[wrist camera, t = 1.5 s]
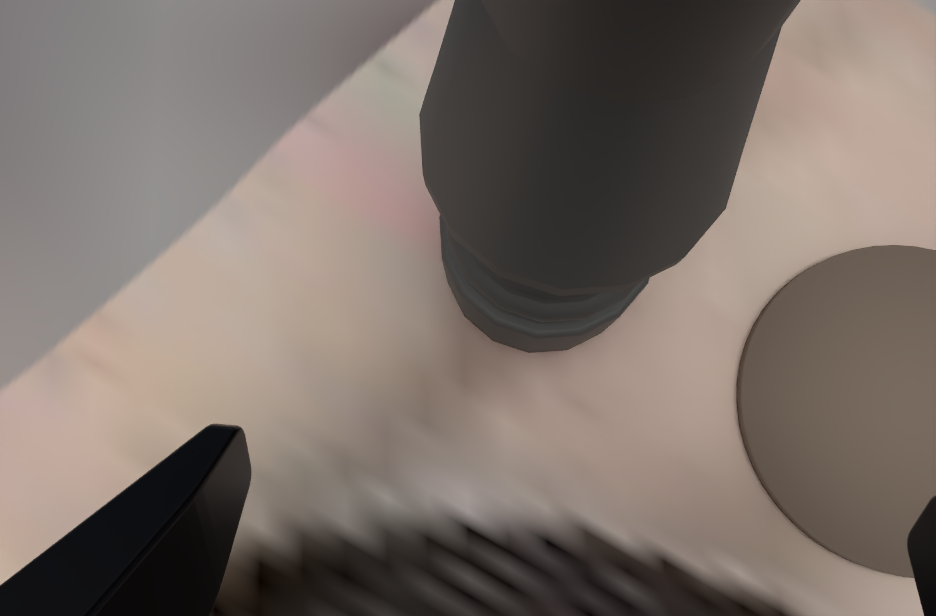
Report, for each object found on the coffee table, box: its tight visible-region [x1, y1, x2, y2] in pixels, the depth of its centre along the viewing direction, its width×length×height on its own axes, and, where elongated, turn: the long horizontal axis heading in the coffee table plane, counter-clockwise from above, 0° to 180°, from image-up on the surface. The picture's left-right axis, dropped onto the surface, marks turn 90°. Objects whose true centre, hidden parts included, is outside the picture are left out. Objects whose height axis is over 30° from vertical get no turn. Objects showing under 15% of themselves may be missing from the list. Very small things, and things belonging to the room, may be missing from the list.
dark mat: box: [737, 245, 936, 578], centre depth 21 cm, size 10×10×1 cm
